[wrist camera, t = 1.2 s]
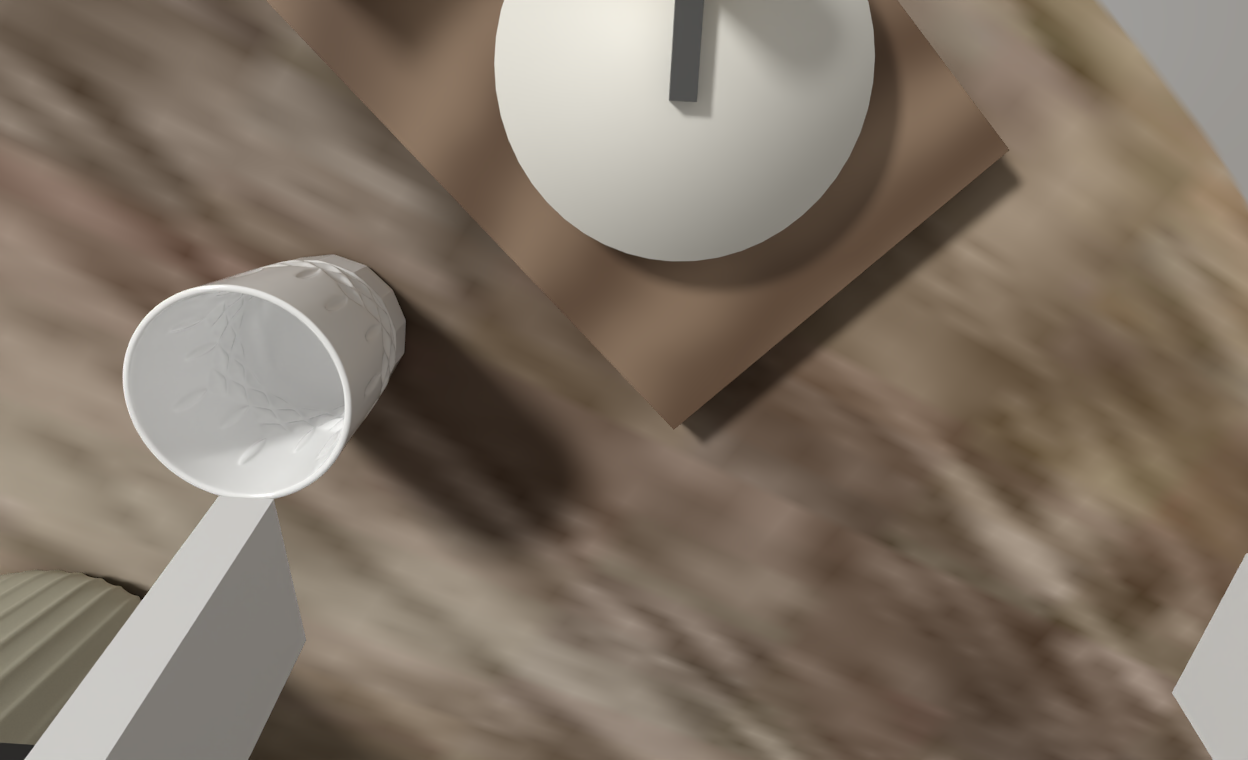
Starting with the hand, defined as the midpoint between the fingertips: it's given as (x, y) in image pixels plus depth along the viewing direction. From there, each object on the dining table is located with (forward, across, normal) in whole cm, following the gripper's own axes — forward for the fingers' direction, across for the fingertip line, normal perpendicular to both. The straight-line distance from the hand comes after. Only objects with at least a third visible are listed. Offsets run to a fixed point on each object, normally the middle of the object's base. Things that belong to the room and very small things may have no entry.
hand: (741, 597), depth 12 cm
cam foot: (+26, +1, -2) cm, 26 cm away
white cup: (+25, +16, +9) cm, 31 cm away
